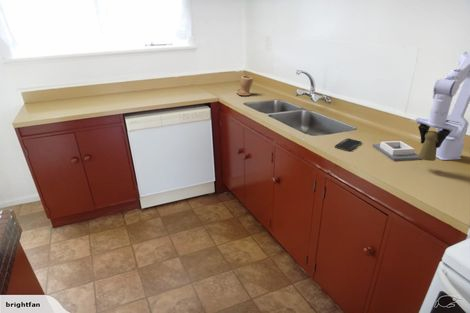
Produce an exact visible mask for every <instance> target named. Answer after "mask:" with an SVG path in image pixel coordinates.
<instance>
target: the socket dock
mask: <svg viewBox="0 0 470 313" xmlns="http://www.w3.org/2000/svg"><path fill="white" fill-rule="evenodd" d="M372 147H373V148H374V149H376V150H378V151H379V152H380V153H381V154H383V155H385V156H386V157H387V158H389V159H390V160H392V161H393V162H394V161H395V162H397V161H413V160H414V161H415V160H422V159H421V158H419V157H418V156H419V154H417V153H415V148H414V147H412V146H411V145H409V144H406V143H405V142H403V141H401V140H392V141H390V140H389V141H380V143H373V144H372Z"/></svg>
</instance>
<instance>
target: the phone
mask: <svg viewBox="0 0 470 313" xmlns="http://www.w3.org/2000/svg"><path fill="white" fill-rule="evenodd" d="M362 143H363V141H361V140H357V139H353V138H345V139H344V140H342V141H340V142H339V143H337V144H335V145H334V148H335V149H338V150H340V151H341V150H342V151H344V152H352V151H354V149H356V148H357V147H359V146H360V145H362Z"/></svg>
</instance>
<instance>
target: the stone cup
mask: <svg viewBox="0 0 470 313" xmlns="http://www.w3.org/2000/svg"><path fill="white" fill-rule="evenodd" d="M253 81H254V78H253V77H252V76H249V75H242V76H241V77H240V88H237V89H236V90H235V92H236V93H237V94H238V95H240V96H244V97H246V96H250V95H251V92H250V90H251V87H252V85H253Z"/></svg>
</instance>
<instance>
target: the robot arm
mask: <svg viewBox="0 0 470 313" xmlns="http://www.w3.org/2000/svg"><path fill="white" fill-rule="evenodd" d="M461 84H462V85H461ZM460 86H461V87H460ZM459 88H460V90H459ZM458 90H459V92H458ZM432 92H433V95H432V99H433V100H432V105H431V108H430V112H429V116H428V119H427V118H421V117H417V118H415V120H414V124H417V125H418V124H419V125H418V127H417V128H418V132H419V134H420V144H422V145H423V144H424V141H425V133H426V132H427V131H430V128H431V127H432V128H435V130H436V132H438V133H439V137H438V141H437V144H436V148H437V151H436V159H437V158H438V159H439V160H440V161H452V160H453V161H454V160H462V157H461V155H462V153H463V150H464V147H465V142H464V138H465V136H466V134H467V131H468V127H469V121H468V120H467V119H466V117H464V116H465V114H466V112H467V108H468V106H469V104H470V52H469V51H463V53H461V55H460V57H459V60H458V66H457V67H455V68H453V69H451V70H450V71H449V72H448V73H447V74H446V75H445V76H444V78H440V79H438V80H437V81H436V82H435V84H434V86H433V91H432ZM457 92H458V94H457ZM456 94H457V97H456V99H455V102H454V104H453V106H452V109H451V112H450V114H449V111H450V108H451V105H452V101H453V97H454V96H456Z"/></svg>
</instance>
